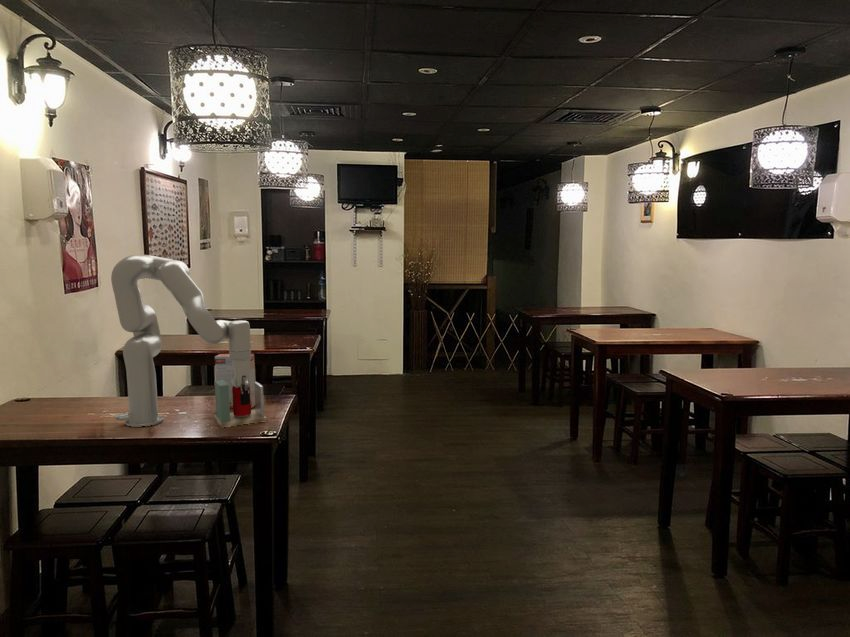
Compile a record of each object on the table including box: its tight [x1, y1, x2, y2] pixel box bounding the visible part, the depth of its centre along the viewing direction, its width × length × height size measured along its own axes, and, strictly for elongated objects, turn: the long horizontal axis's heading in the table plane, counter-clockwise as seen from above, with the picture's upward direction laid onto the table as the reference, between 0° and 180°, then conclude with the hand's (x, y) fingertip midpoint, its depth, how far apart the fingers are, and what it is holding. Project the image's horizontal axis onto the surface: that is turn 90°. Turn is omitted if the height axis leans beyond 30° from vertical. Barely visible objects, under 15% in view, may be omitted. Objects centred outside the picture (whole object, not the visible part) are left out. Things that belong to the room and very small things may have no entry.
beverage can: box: [232, 385, 252, 417], centre depth 236 cm, size 6×6×12 cm
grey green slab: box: [214, 380, 231, 422], centre depth 233 cm, size 3×10×13 cm, turn 28°
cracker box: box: [214, 353, 256, 409], centre depth 254 cm, size 14×6×21 cm, turn 84°
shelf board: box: [213, 409, 268, 429], centre depth 236 cm, size 16×14×2 cm
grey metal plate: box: [254, 381, 265, 417], centre depth 239 cm, size 1×9×11 cm, turn 28°
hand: (242, 401), depth 236 cm, fingers open, 9 cm apart
